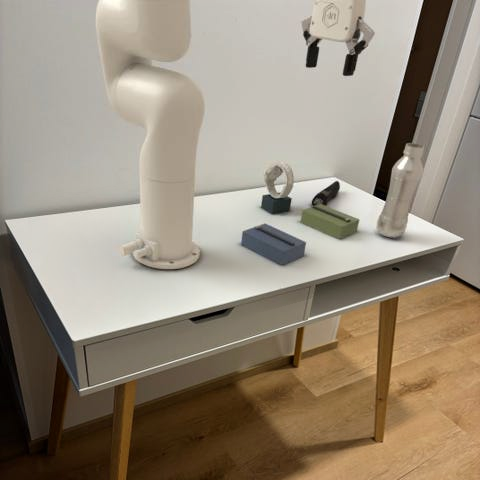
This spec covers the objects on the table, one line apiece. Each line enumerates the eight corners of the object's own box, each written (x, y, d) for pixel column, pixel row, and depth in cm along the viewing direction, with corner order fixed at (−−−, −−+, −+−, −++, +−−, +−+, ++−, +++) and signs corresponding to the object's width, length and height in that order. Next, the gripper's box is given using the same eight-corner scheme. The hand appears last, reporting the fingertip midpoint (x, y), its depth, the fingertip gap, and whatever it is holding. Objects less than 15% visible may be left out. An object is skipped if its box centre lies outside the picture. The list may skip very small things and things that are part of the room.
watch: (273, 201, 122) (280, 157, 115) (294, 213, 116) (302, 167, 110) (255, 204, 119) (261, 159, 113) (276, 217, 114) (283, 170, 107)
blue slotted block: (282, 265, 94) (284, 248, 92) (240, 244, 100) (242, 228, 98) (303, 255, 98) (307, 239, 96) (263, 236, 104) (265, 220, 102)
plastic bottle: (368, 230, 112) (392, 141, 101) (390, 227, 115) (415, 140, 104) (387, 242, 108) (414, 150, 96) (409, 239, 111) (438, 149, 99)
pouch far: (339, 239, 107) (343, 224, 105) (300, 222, 113) (302, 207, 110) (356, 231, 111) (360, 216, 109) (317, 215, 117) (320, 201, 115)
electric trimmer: (342, 193, 132) (344, 181, 131) (323, 209, 120) (326, 197, 119) (329, 190, 134) (331, 178, 132) (309, 205, 122) (311, 193, 120)
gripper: (299, -31, 97) (286, 65, 107) (374, -25, 88) (353, 79, 97) (321, -28, 102) (307, 64, 111) (395, -22, 92) (372, 78, 102)
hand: (328, 71), depth 104 cm, fingers open, 9 cm apart
